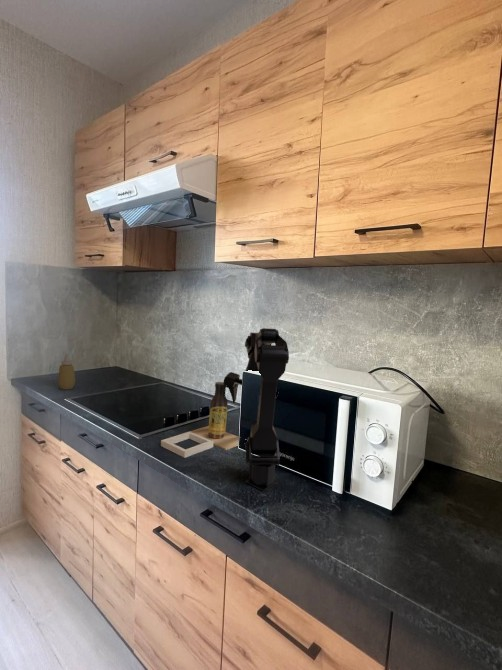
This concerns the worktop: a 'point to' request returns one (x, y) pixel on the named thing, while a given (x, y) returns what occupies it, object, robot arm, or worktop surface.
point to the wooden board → (224, 443)
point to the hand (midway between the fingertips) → (246, 407)
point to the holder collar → (184, 453)
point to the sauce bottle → (218, 412)
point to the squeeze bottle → (66, 374)
